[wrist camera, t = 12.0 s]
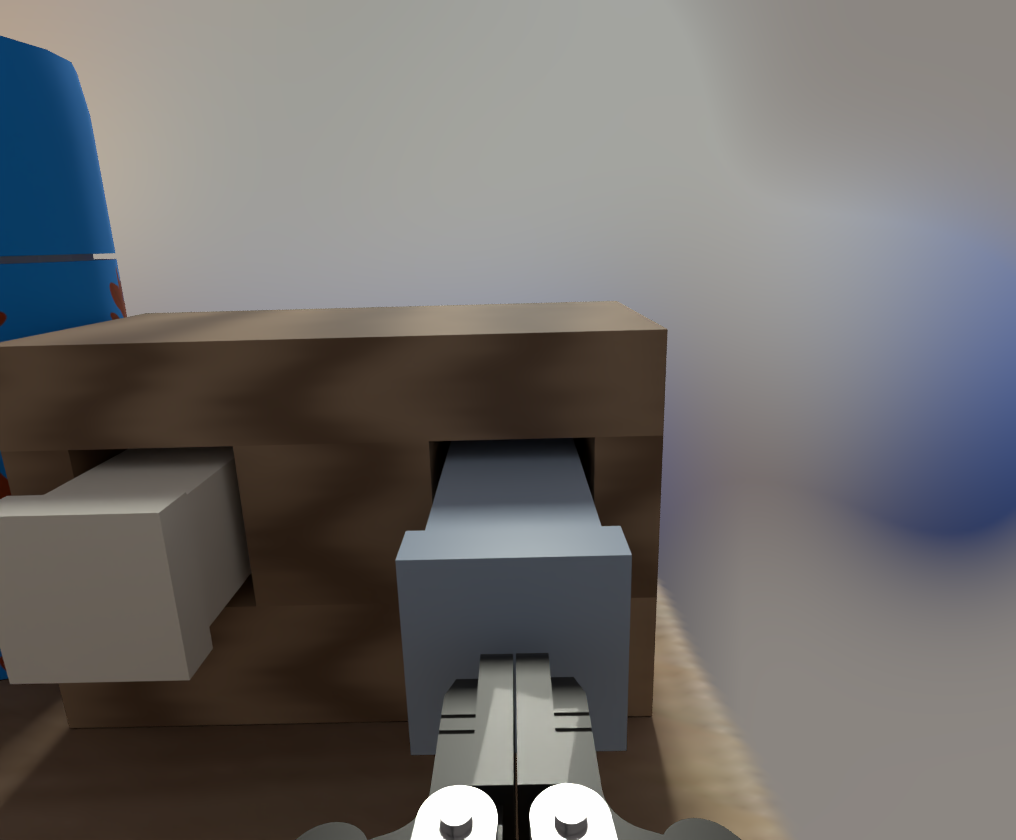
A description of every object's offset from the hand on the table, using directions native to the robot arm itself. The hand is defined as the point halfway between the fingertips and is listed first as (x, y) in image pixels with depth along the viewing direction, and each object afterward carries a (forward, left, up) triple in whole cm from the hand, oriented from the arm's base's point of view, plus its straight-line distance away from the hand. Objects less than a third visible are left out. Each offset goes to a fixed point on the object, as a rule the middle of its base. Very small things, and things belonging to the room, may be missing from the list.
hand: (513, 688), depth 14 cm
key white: (-12, +10, -3) cm, 16 cm away
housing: (-6, +13, -8) cm, 17 cm away
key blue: (0, +7, -3) cm, 7 cm away
